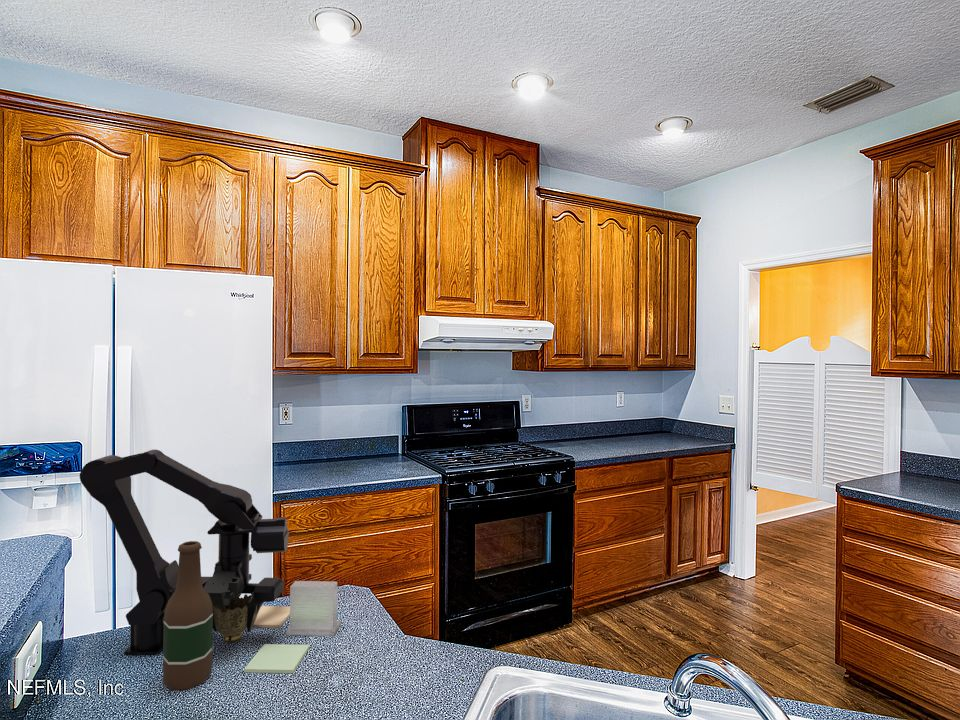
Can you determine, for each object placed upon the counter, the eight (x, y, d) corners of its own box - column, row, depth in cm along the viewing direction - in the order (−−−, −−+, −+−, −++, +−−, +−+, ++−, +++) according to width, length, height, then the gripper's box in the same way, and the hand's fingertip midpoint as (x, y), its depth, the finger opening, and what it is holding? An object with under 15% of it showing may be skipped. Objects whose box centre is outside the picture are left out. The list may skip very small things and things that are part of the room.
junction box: (286, 635, 114) (286, 587, 114) (294, 623, 119) (295, 578, 119) (334, 635, 113) (334, 588, 113) (340, 624, 118) (341, 578, 118)
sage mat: (244, 672, 100) (244, 669, 100) (264, 647, 109) (264, 644, 109) (293, 673, 99) (293, 669, 99) (309, 647, 108) (309, 644, 108)
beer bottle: (165, 672, 99) (167, 539, 100) (213, 663, 102) (215, 534, 103) (159, 696, 92) (161, 552, 93) (210, 685, 95) (212, 547, 96)
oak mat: (237, 627, 117) (237, 624, 117) (255, 608, 126) (256, 606, 126) (279, 628, 117) (279, 625, 117) (294, 609, 126) (295, 606, 126)
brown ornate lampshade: (259, 632, 115) (260, 594, 115) (240, 650, 107) (241, 609, 107) (225, 630, 115) (226, 592, 115) (204, 648, 108) (205, 607, 108)
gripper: (165, 567, 104) (163, 650, 103) (263, 569, 103) (262, 652, 103) (196, 548, 115) (195, 623, 115) (285, 549, 114) (284, 624, 114)
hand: (232, 631), depth 111 cm, fingers closed on brown ornate lampshade, 6 cm apart
